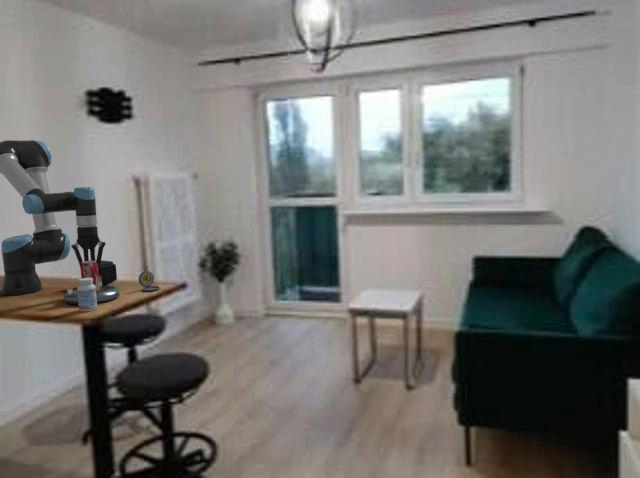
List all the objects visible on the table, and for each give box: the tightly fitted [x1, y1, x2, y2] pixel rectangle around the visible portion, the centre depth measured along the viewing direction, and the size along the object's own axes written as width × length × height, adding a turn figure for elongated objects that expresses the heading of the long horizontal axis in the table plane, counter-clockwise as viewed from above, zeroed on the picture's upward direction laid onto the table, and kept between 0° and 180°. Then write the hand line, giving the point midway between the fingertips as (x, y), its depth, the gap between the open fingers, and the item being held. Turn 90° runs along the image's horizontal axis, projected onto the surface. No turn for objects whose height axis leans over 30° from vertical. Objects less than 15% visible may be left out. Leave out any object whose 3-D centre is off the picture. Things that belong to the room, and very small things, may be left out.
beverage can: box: [79, 260, 100, 292], centre depth 215 cm, size 6×6×12 cm
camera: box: [98, 259, 118, 287], centre depth 239 cm, size 11×11×15 cm
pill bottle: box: [76, 278, 98, 313], centre depth 199 cm, size 6×6×11 cm
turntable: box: [63, 276, 120, 305], centre depth 217 cm, size 23×20×6 cm
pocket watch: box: [138, 264, 161, 292], centre depth 229 cm, size 8×8×10 cm
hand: (91, 284), depth 225 cm, fingers closed
